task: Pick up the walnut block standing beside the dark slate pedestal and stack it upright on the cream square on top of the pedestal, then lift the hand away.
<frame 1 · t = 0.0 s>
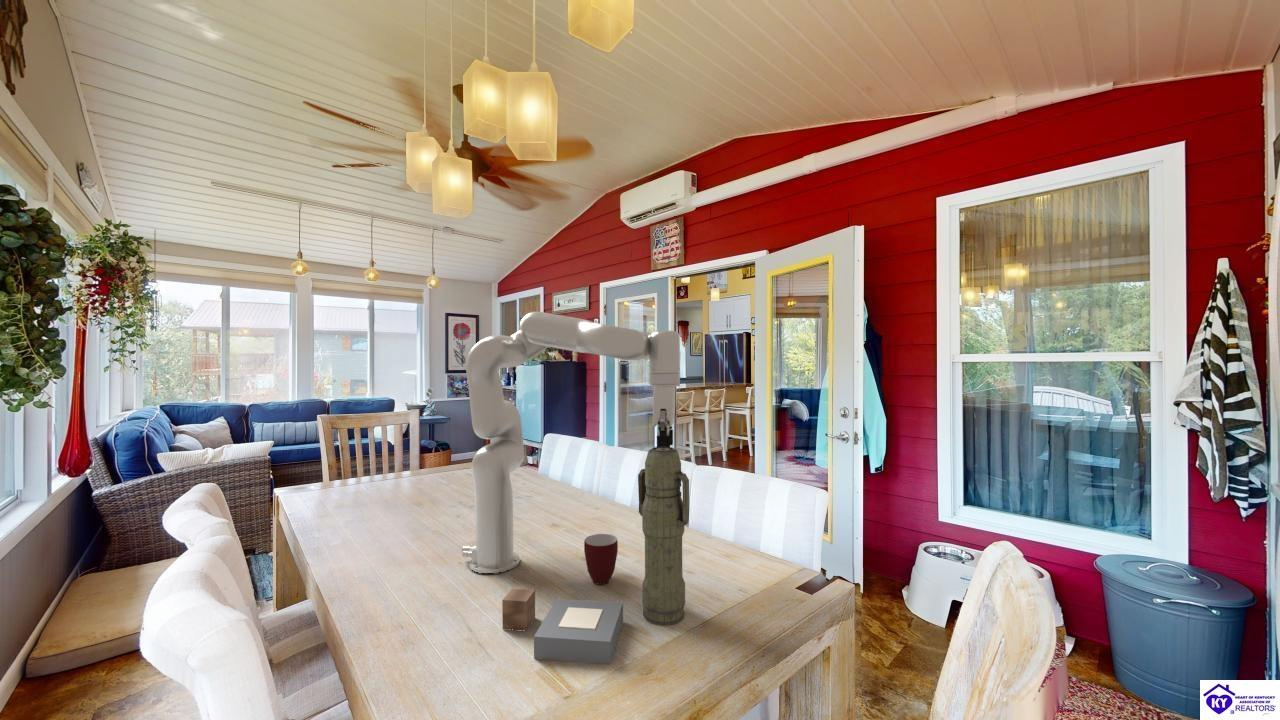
hand: (665, 448, 125), 31 cm above the table, tool pointing down, fingers open, 9 cm apart
mug: (603, 579, 122), on the table
walnut block: (519, 623, 102), on the table
thermos: (663, 615, 105), on the table
slate pedestal: (581, 639, 96), on the table
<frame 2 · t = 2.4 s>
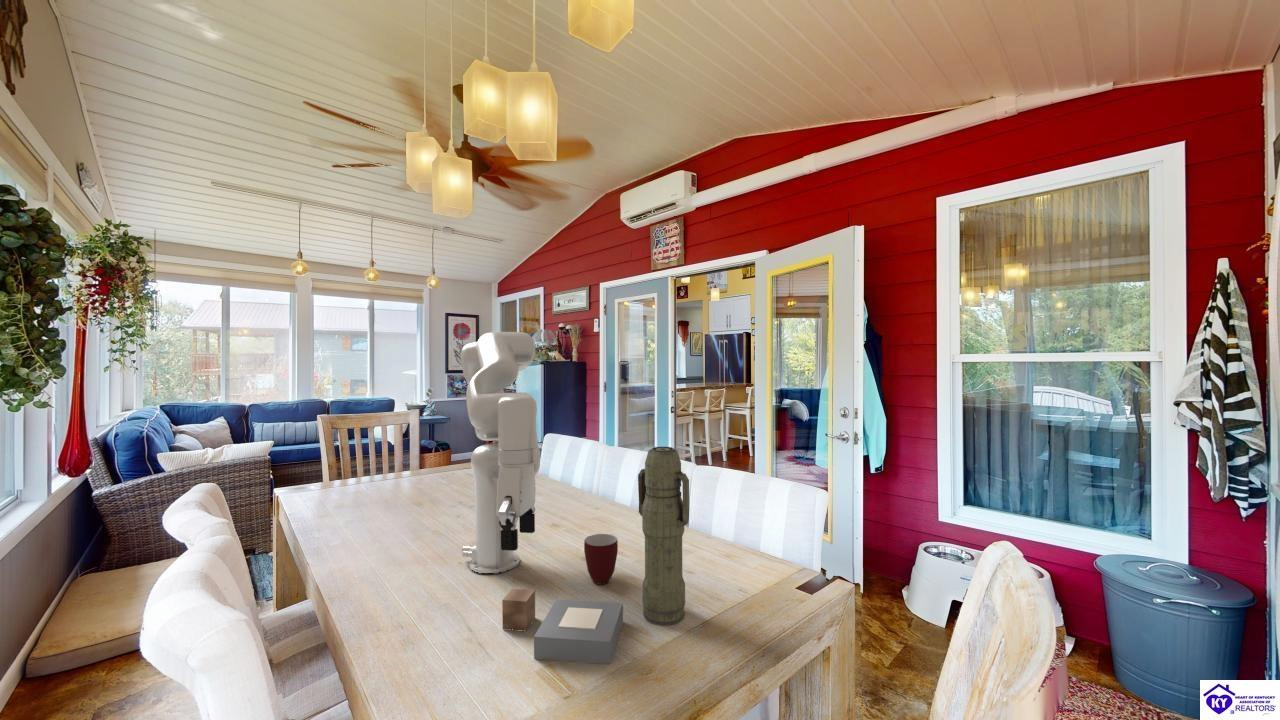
hand: (518, 540, 101), 17 cm above the table, tool pointing down, fingers open, 9 cm apart
nothing on the table moved.
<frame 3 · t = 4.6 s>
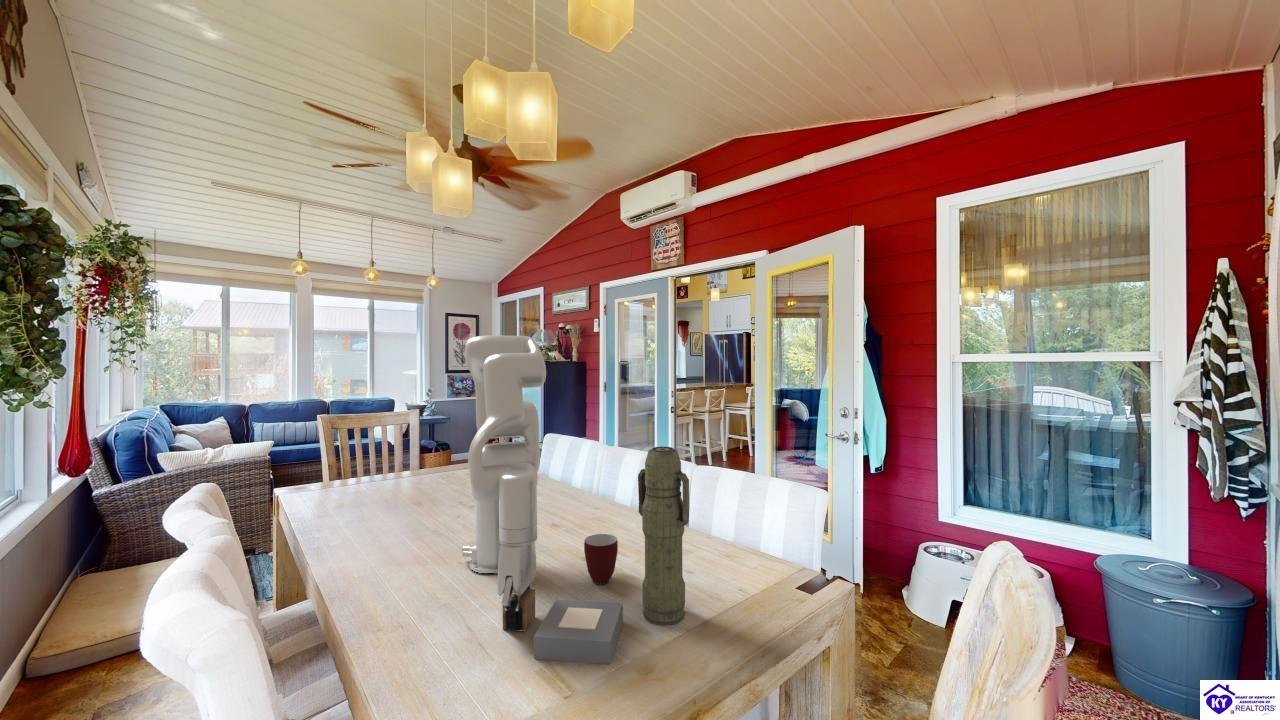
hand: (519, 620, 102), 1 cm above the table, tool pointing down, fingers closed on walnut block, 5 cm apart
walnut block: (519, 623, 102), on the table, touching gripper
everything else where it was.
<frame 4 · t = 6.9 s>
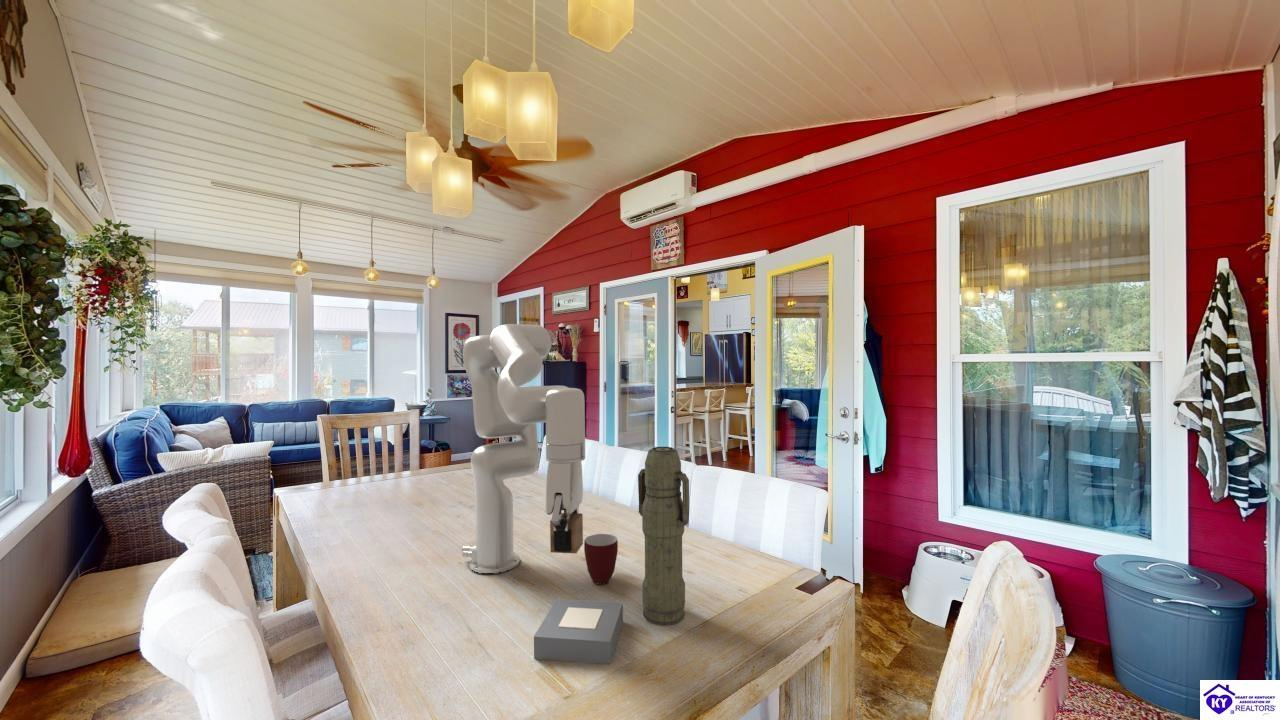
hand: (567, 544, 97), 18 cm above the table, tool pointing down, fingers closed on walnut block, 5 cm apart
walnut block: (567, 547, 97), point 17 cm above the table, touching gripper
everything else where it was.
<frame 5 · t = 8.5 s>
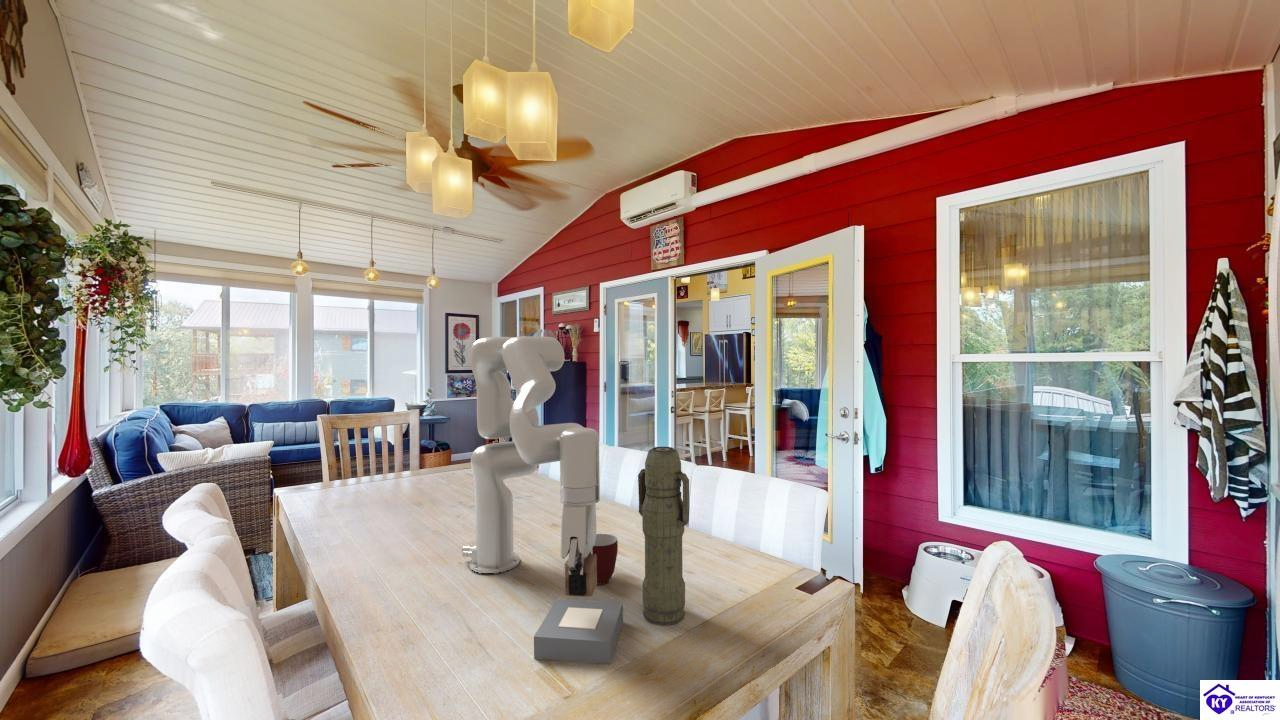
hand: (581, 586, 96), 10 cm above the table, tool pointing down, fingers closed on walnut block, 5 cm apart
walnut block: (581, 590, 96), point 10 cm above the table, touching gripper
everything else where it was.
when the fingers open (7 cm above the table, at t = 9.5 s): walnut block drops 2 cm, resting on slate pedestal.
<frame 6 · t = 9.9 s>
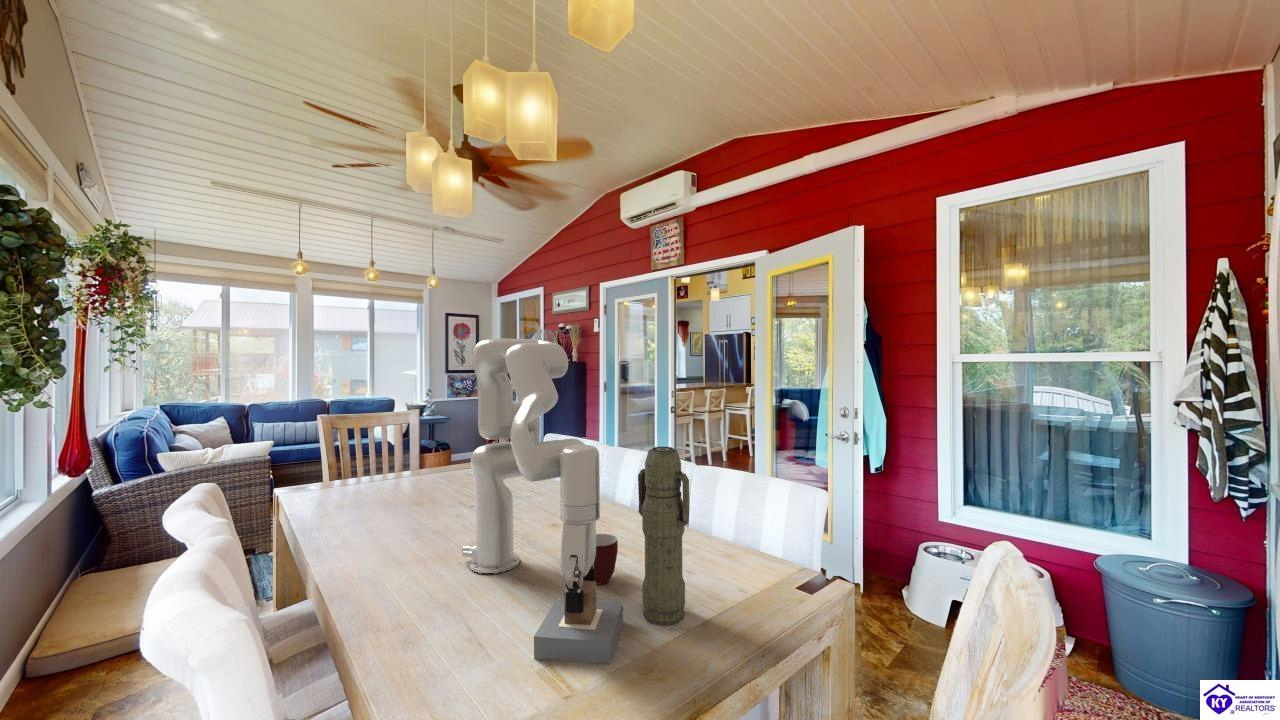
hand: (581, 599, 96), 8 cm above the table, tool pointing down, fingers open, 8 cm apart
walnut block: (580, 617, 96), point 4 cm above the table, touching slate pedestal
everything else where it was.
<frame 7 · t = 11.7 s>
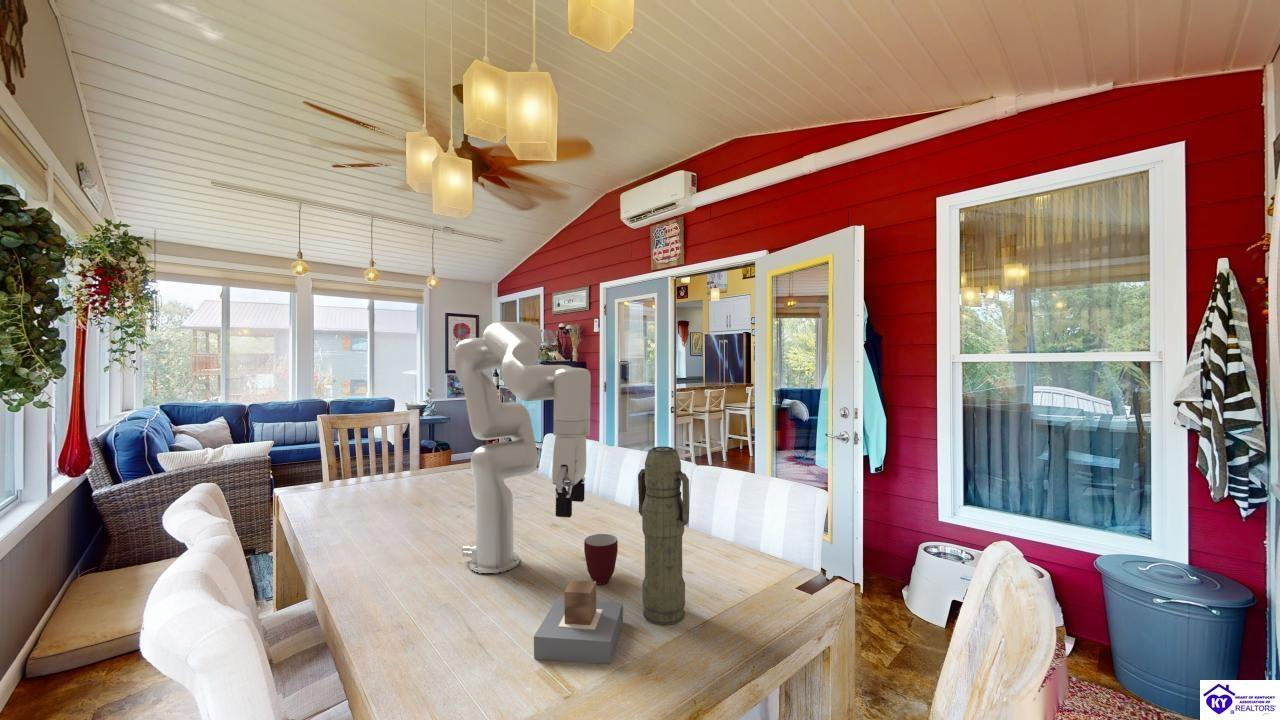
hand: (570, 508, 104), 23 cm above the table, tool pointing down, fingers open, 9 cm apart
nothing on the table moved.
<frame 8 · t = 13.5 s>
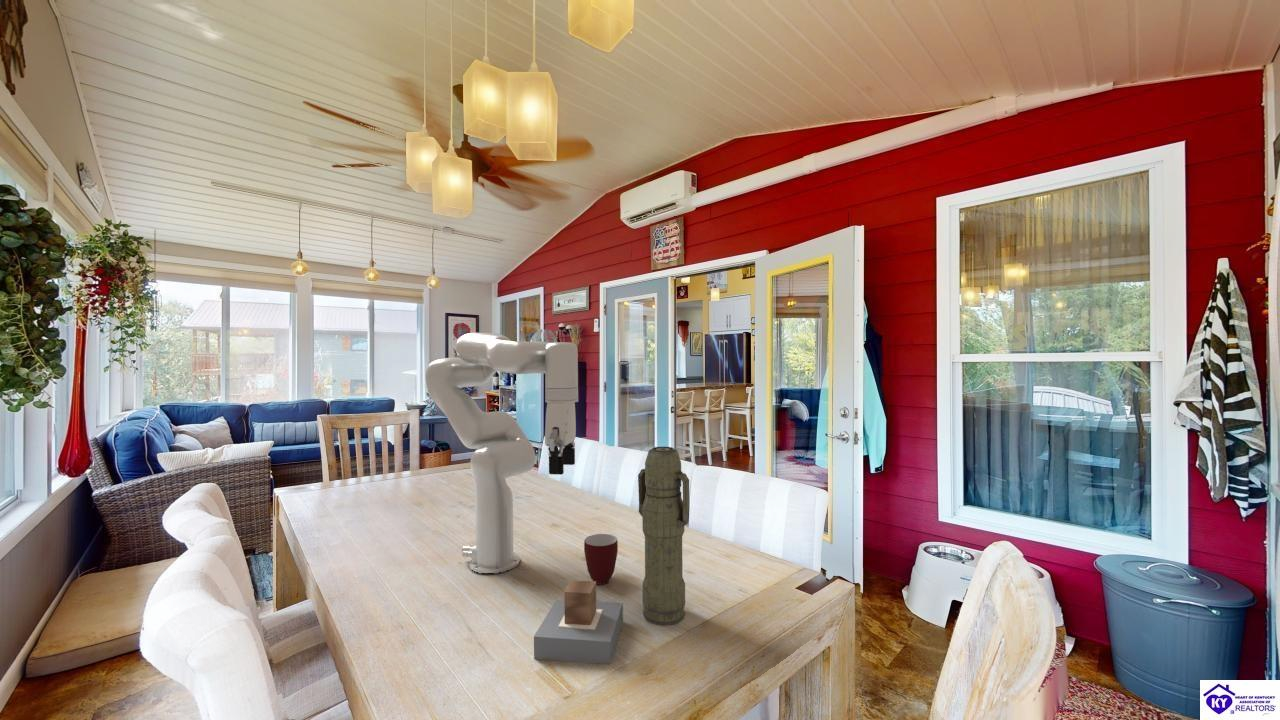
hand: (562, 469, 116), 28 cm above the table, tool pointing down, fingers open, 9 cm apart
nothing on the table moved.
at the end: walnut block inside the target area on the slate pedestal (0.1 cm from its centre), point 4.2 cm above the slate pedestal's base; walnut block tilted 0°; the gripper is holding nothing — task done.
